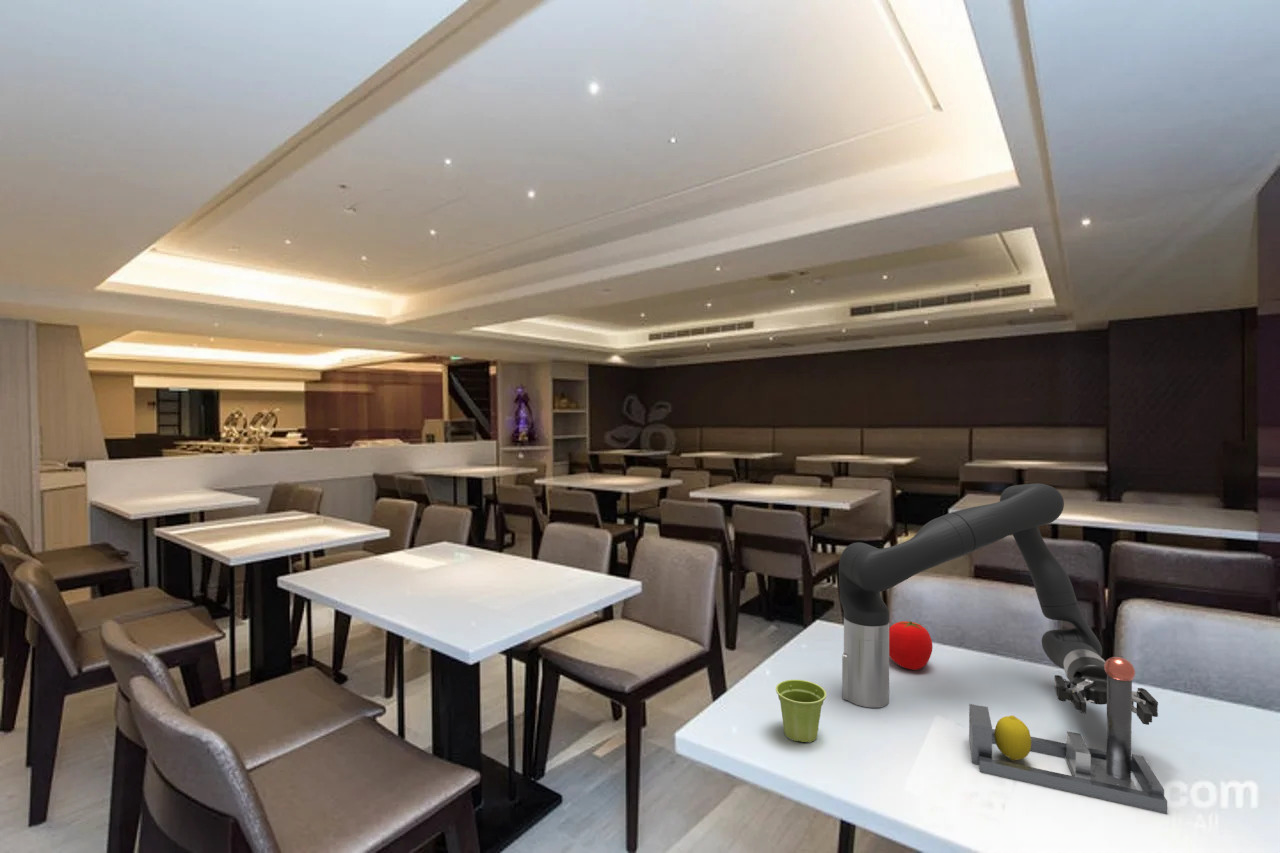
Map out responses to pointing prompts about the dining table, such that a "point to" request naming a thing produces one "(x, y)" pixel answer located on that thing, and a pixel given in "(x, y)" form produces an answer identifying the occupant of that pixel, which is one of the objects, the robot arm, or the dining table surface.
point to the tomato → (909, 645)
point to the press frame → (982, 755)
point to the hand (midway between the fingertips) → (1114, 713)
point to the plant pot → (800, 708)
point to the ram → (1109, 732)
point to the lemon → (1012, 738)
